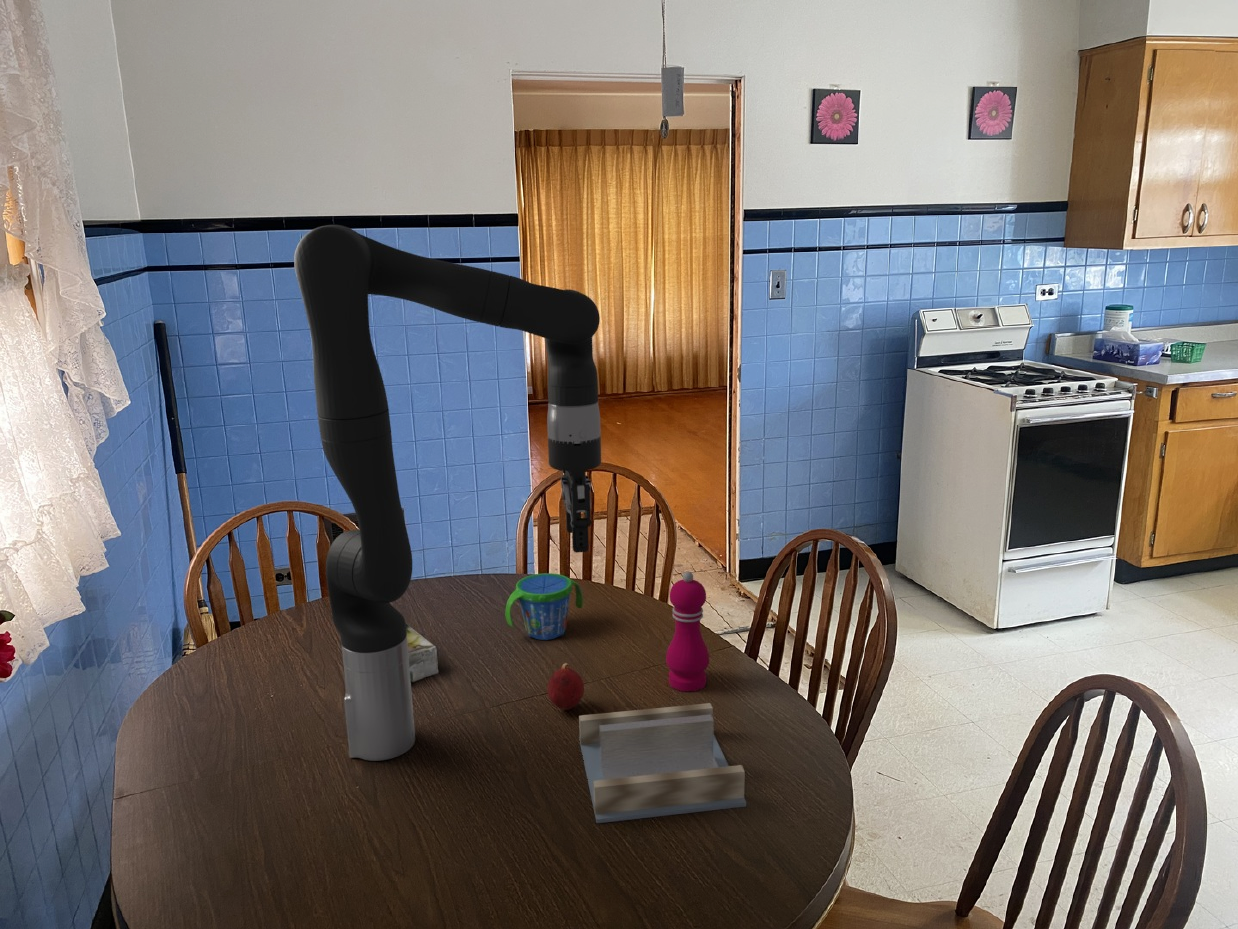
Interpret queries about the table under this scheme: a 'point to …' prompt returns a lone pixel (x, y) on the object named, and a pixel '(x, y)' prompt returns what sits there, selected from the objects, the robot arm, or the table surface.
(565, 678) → the onion
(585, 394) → the robot arm
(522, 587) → the snack cup
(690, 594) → the pepper mill
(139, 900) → the table surface
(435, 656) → the juice carton
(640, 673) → the table surface
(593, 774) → the board
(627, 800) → the walls
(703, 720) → the bracket
